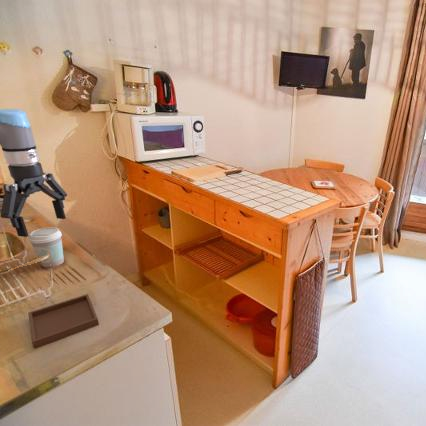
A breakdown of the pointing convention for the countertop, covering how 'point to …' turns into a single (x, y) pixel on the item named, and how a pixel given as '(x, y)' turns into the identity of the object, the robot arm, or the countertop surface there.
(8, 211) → the robot arm
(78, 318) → the tray
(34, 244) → the coffee cup
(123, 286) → the countertop surface
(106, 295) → the countertop surface
